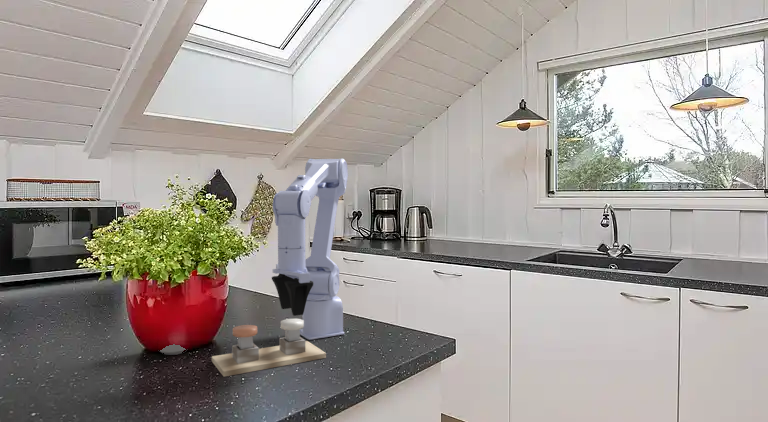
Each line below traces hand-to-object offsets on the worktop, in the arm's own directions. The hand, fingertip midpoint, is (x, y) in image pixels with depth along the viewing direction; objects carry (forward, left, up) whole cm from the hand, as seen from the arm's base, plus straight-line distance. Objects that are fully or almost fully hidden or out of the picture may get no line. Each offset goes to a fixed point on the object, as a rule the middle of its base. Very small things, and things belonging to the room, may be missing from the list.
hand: (292, 311), depth 107 cm
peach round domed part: (+10, 0, -6) cm, 12 cm away
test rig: (+5, 0, -9) cm, 11 cm away
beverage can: (+21, -16, -10) cm, 28 cm away
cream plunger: (0, 0, -6) cm, 6 cm away
